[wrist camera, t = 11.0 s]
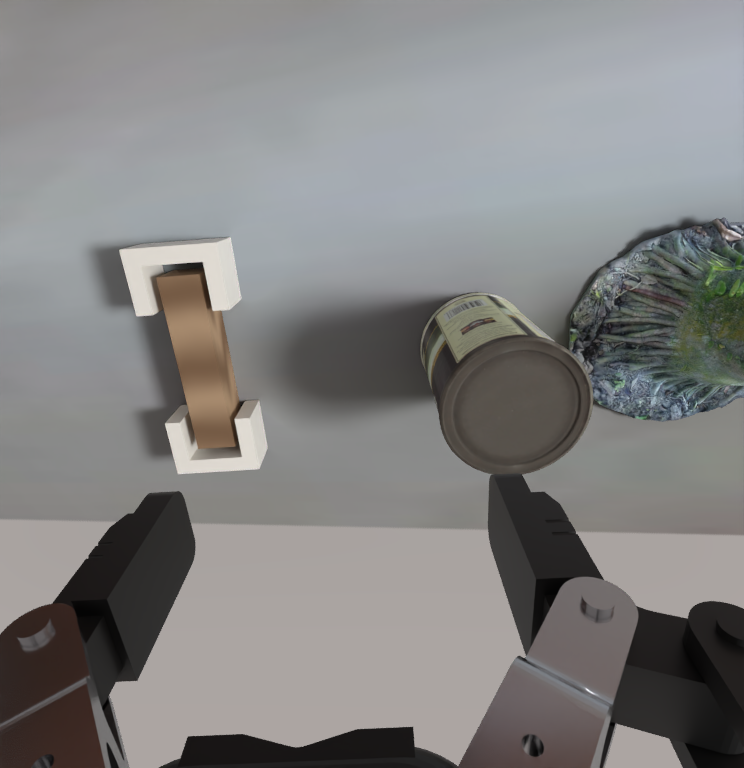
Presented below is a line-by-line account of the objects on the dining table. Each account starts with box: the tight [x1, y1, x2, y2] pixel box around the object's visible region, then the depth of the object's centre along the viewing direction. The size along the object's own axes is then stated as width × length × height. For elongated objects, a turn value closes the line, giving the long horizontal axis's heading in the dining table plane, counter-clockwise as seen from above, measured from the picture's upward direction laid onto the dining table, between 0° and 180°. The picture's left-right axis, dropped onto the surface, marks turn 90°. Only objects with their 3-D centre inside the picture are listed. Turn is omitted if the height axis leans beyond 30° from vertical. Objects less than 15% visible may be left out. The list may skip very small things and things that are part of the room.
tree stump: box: [569, 218, 744, 422], centre depth 39 cm, size 18×20×18 cm
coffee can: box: [420, 293, 593, 475], centre depth 39 cm, size 10×10×14 cm
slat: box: [156, 268, 241, 449], centre depth 44 cm, size 16×4×4 cm, turn 4°
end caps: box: [119, 237, 268, 474], centre depth 44 cm, size 21×8×4 cm, turn 4°
